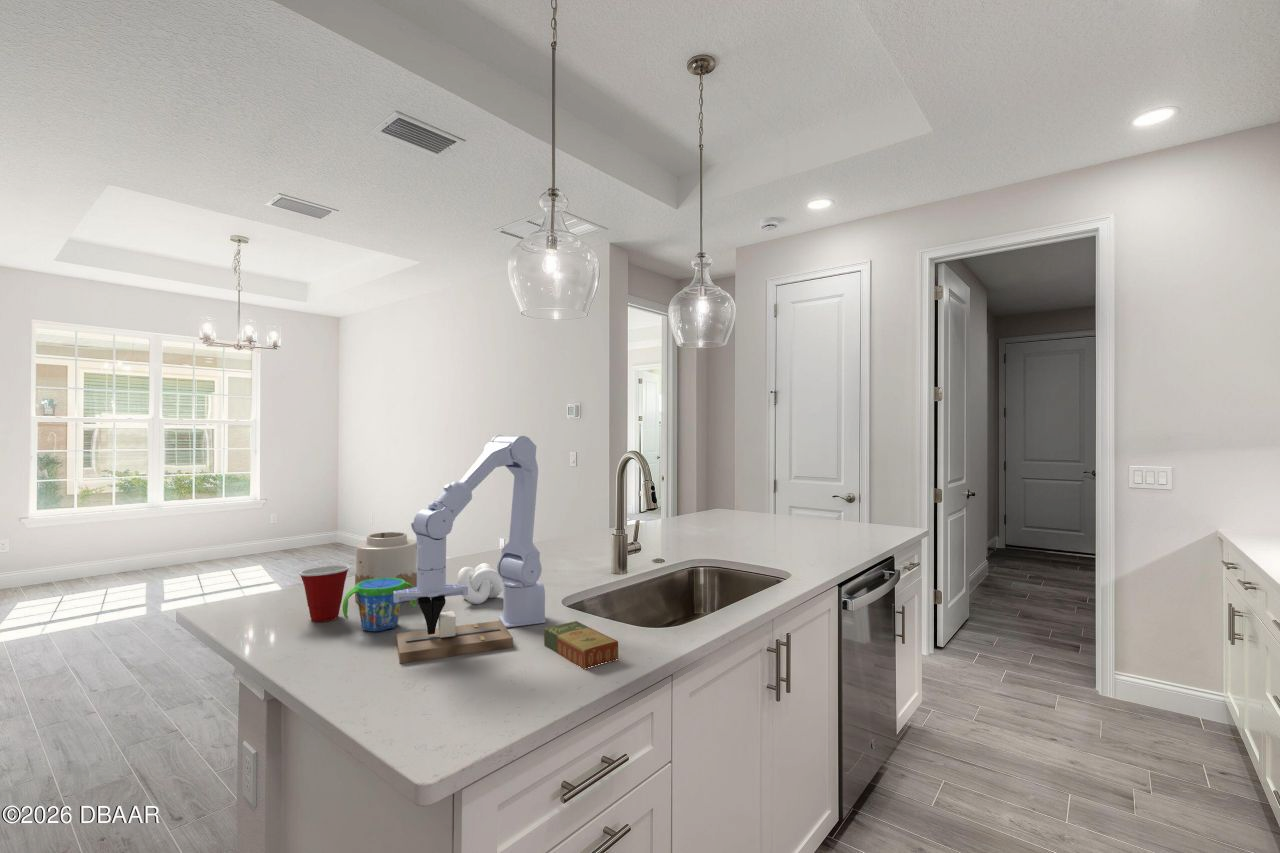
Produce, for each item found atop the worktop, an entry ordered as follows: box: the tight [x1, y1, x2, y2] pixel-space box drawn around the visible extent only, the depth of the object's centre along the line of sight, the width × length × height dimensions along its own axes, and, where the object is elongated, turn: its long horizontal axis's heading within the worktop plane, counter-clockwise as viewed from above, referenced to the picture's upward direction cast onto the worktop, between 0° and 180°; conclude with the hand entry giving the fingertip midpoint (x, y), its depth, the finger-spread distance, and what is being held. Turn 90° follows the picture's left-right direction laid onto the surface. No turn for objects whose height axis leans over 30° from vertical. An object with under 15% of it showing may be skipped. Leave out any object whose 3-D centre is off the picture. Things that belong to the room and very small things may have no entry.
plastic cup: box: [298, 564, 350, 623], centre depth 144 cm, size 11×11×12 cm
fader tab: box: [437, 610, 457, 638], centre depth 126 cm, size 3×4×4 cm
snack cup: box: [342, 578, 417, 632], centre depth 138 cm, size 16×10×10 cm
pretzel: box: [456, 562, 504, 605], centre depth 160 cm, size 11×12×9 cm
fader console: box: [396, 620, 514, 664], centre depth 127 cm, size 22×12×2 cm, turn 114°
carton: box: [543, 620, 619, 670], centre depth 124 cm, size 8×16×4 cm, turn 37°
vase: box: [354, 531, 417, 604], centre depth 161 cm, size 15×15×17 cm
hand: (431, 632), depth 125 cm, fingers closed
